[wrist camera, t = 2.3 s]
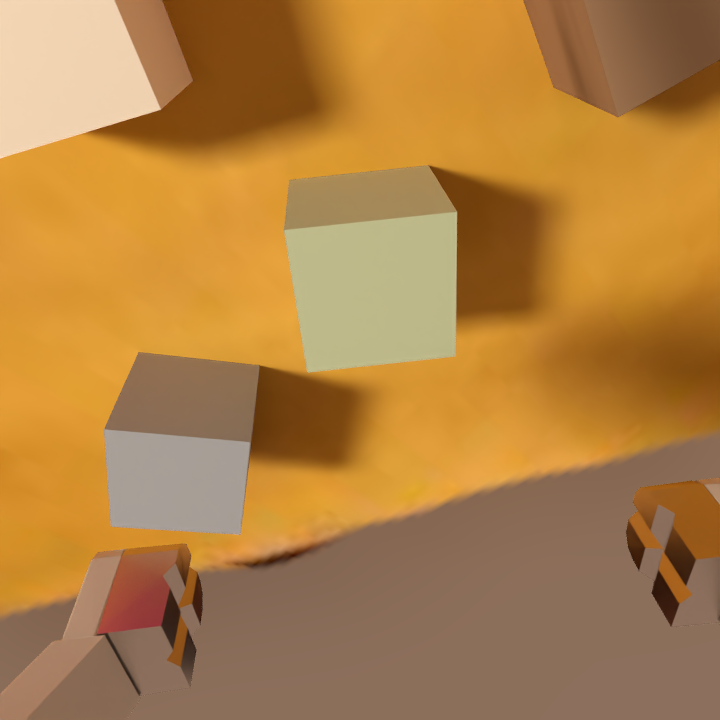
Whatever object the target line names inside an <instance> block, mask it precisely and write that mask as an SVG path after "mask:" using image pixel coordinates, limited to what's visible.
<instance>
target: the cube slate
mask: <svg viewBox="0 0 720 720" xmlns="http://www.w3.org/2000/svg"><path fill="white" fill-rule="evenodd" d="M259 368H260V365H251V364H242V363H233V362H224V361H214V360H205V359H196V358H187V357H178V356H169V355H160V354H151V353H141V352H139V353H138V355H137V357H136V360H135V362H134V364H133V366H132V368H131V371H130V373H129V375H128V377H127V380H126V382H125V384H124V386H123V388H122V391H121V393H120V395H119V397H118V400H117V402H116V404H115V406H114V408H113V411H112V413H111V415H110V417H109V420H108V422H107V424H106V426H105V429H104V435H105V449H106V463H107V477H108V491H109V505H110V519H111V527H126V528H142V529H158V530H174V531H190V532H206V533H222V534H238V535H240V533H241V525H242V517H243V509H244V501H245V492H246V484H247V476H248V468H249V460H250V451H251V442H252V433H253V424H254V415H255V405H256V396H257V387H258V378H259Z"/></svg>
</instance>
